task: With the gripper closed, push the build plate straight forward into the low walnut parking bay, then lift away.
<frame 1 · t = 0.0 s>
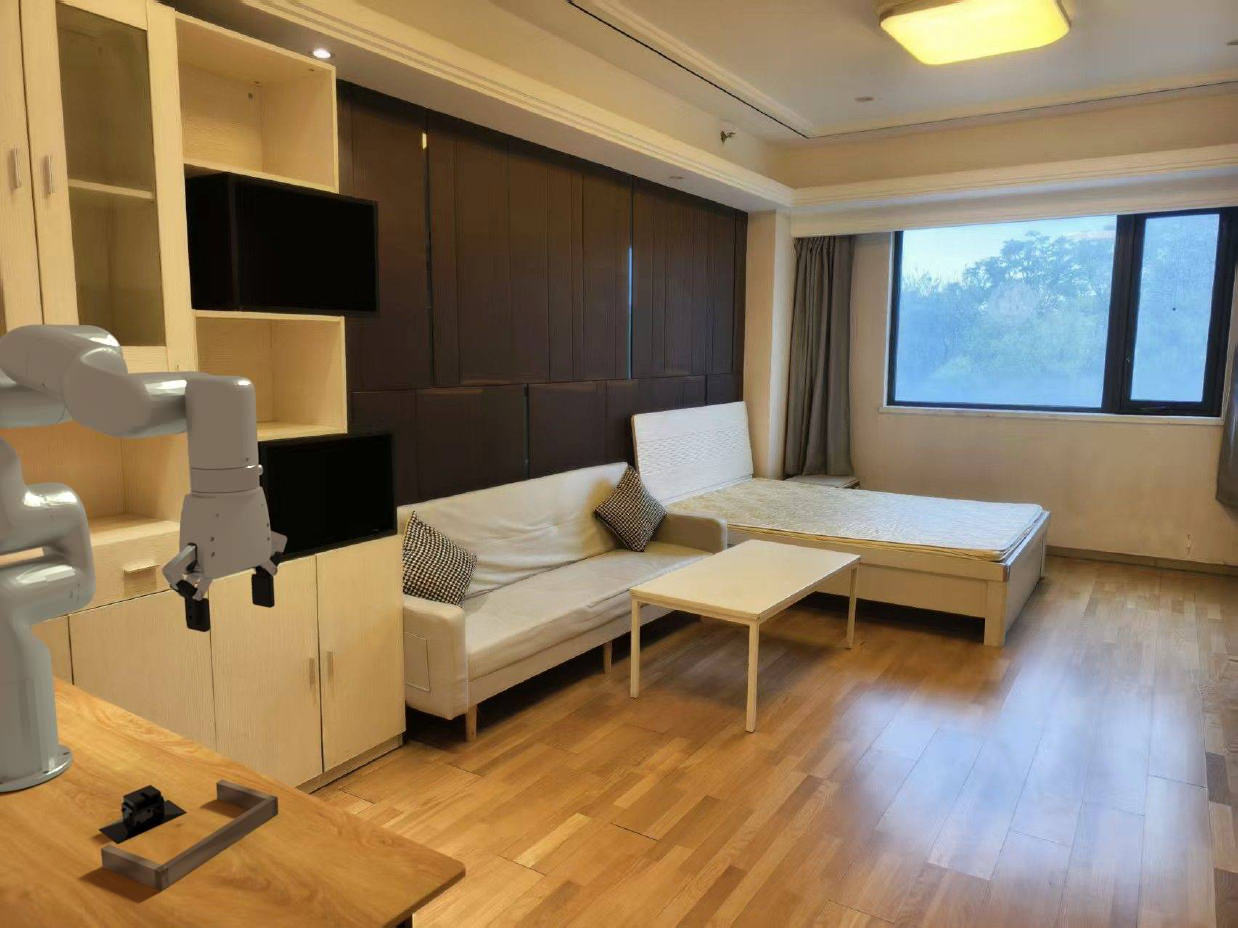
hand: (232, 617, 103), 31 cm above the table, tool pointing down, fingers open, 9 cm apart
build plate: (144, 825, 114), on the table
parking bay: (193, 838, 110), on the table
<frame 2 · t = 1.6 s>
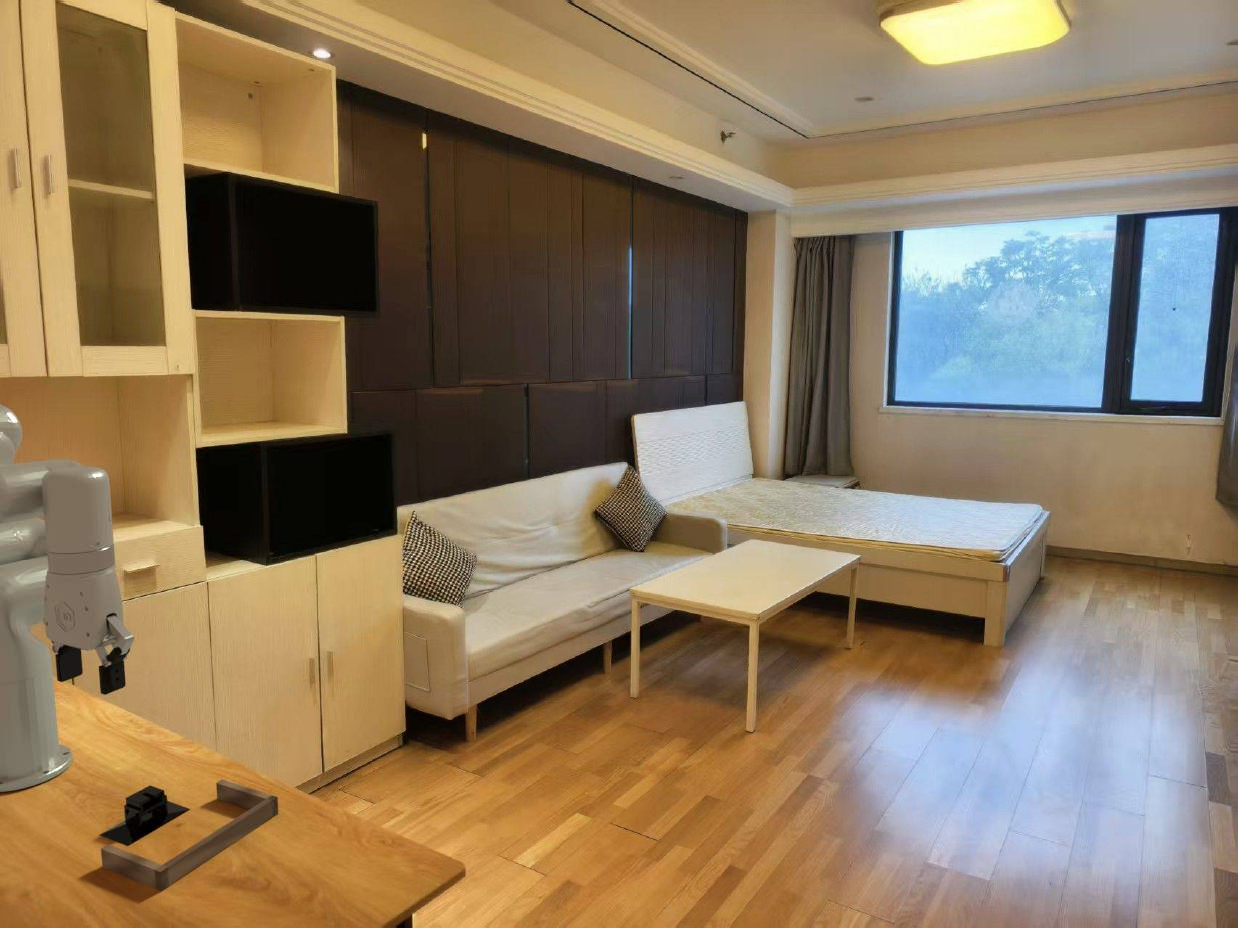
hand: (91, 683, 115), 18 cm above the table, tool pointing down, fingers open, 8 cm apart
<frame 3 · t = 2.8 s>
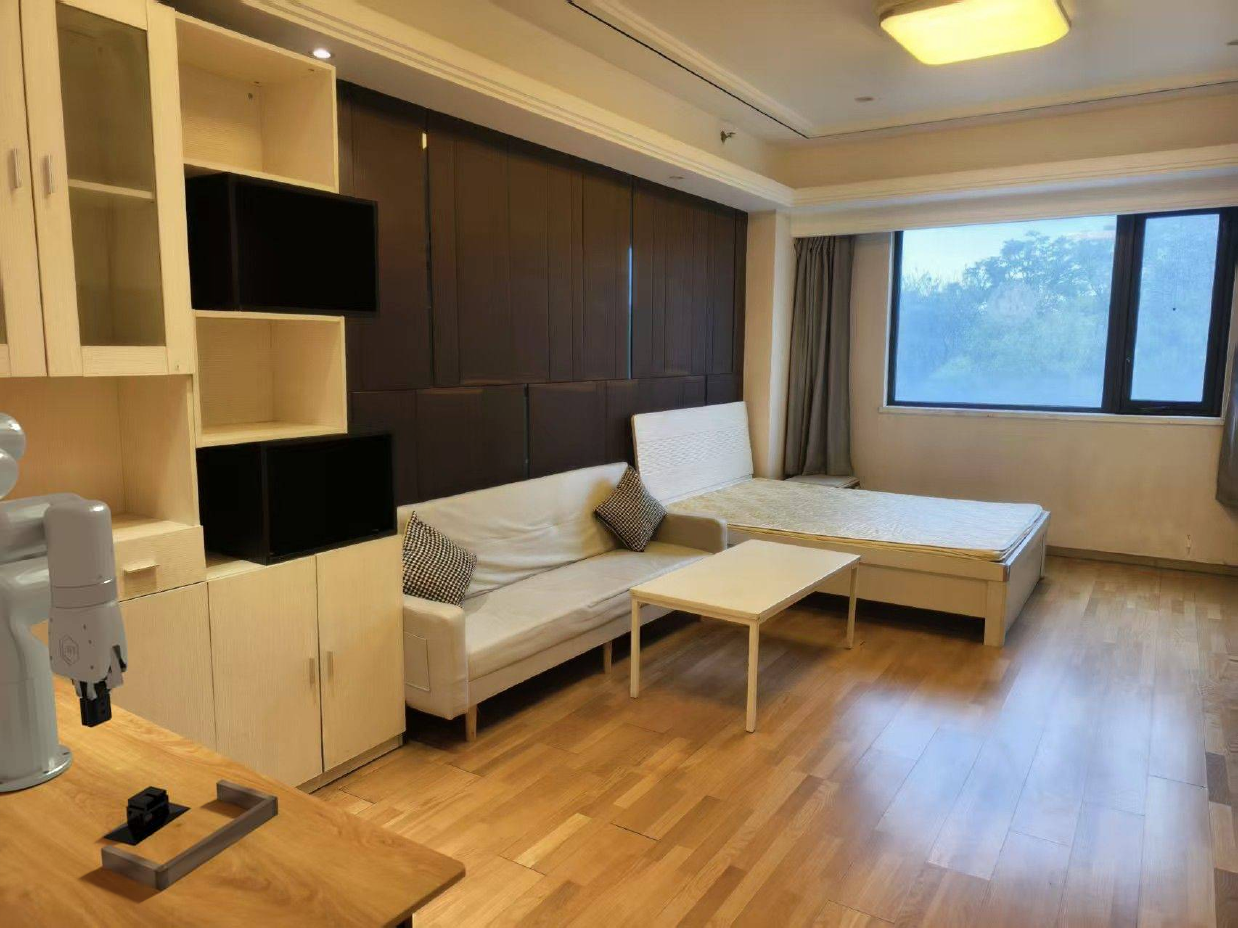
hand: (97, 722, 115), 12 cm above the table, tool pointing down, fingers closed
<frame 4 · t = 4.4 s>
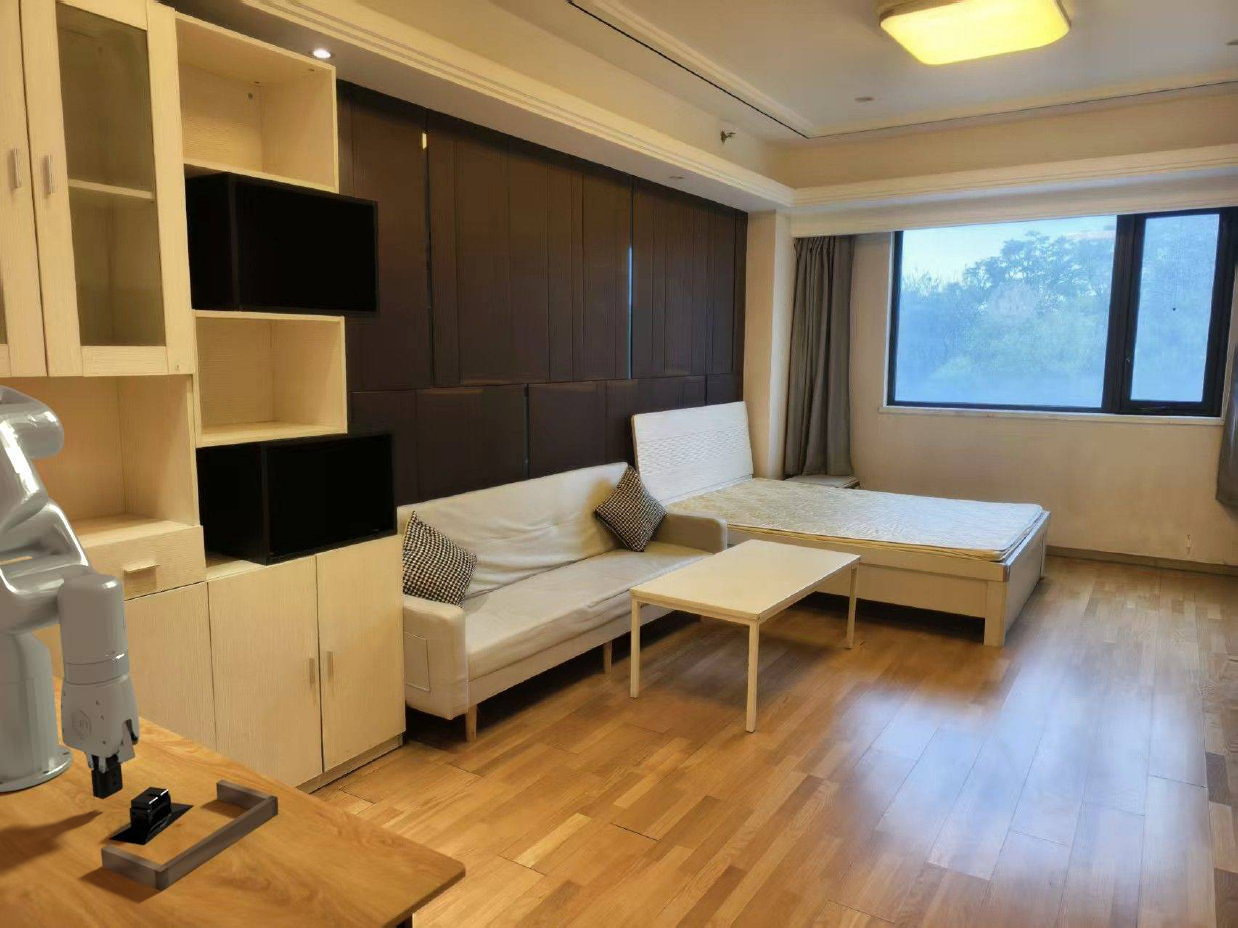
hand: (108, 792, 117), 2 cm above the table, tool pointing down, fingers closed
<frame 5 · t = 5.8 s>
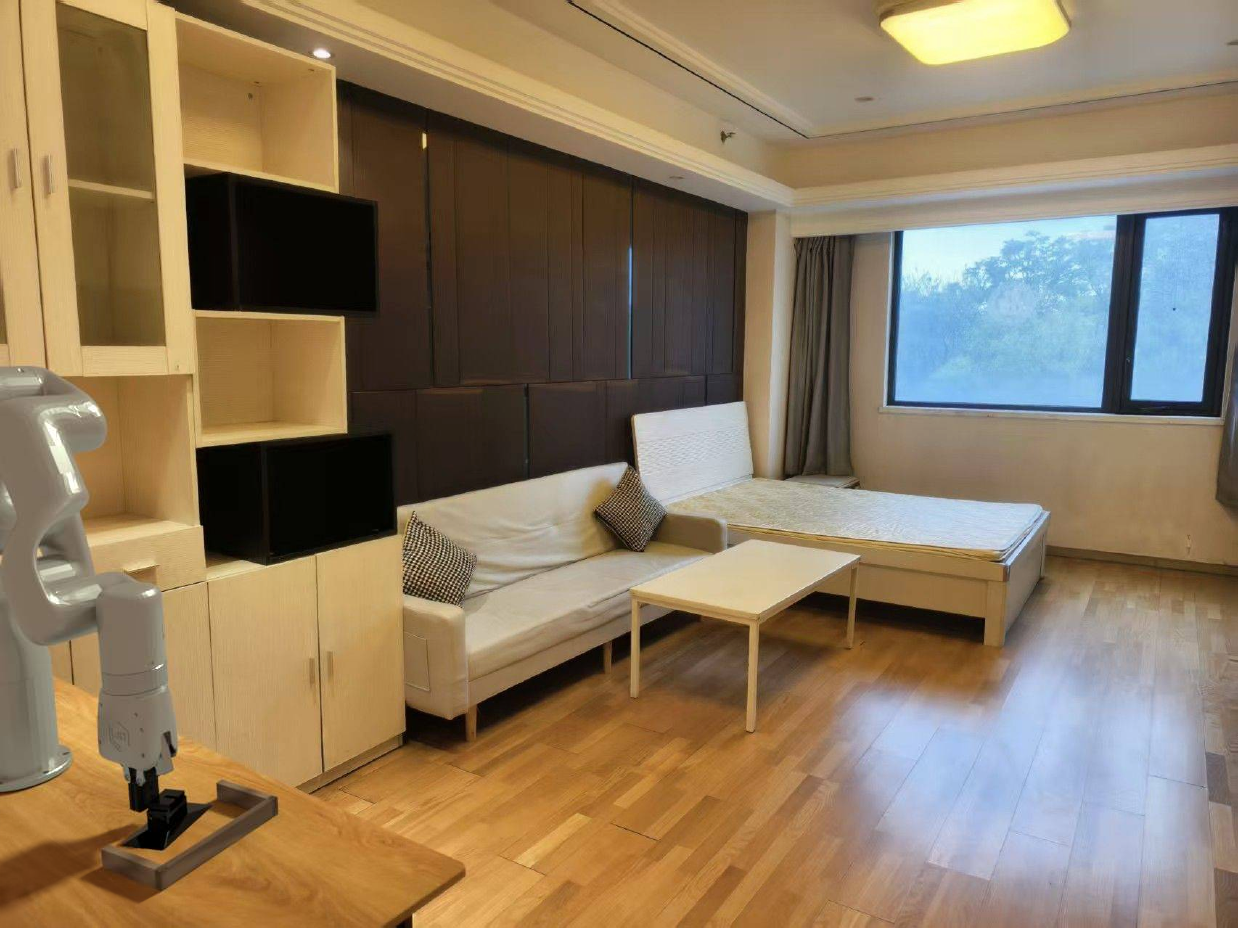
hand: (145, 806, 114), 2 cm above the table, tool pointing down, fingers closed
build plate: (168, 829, 114), on the table
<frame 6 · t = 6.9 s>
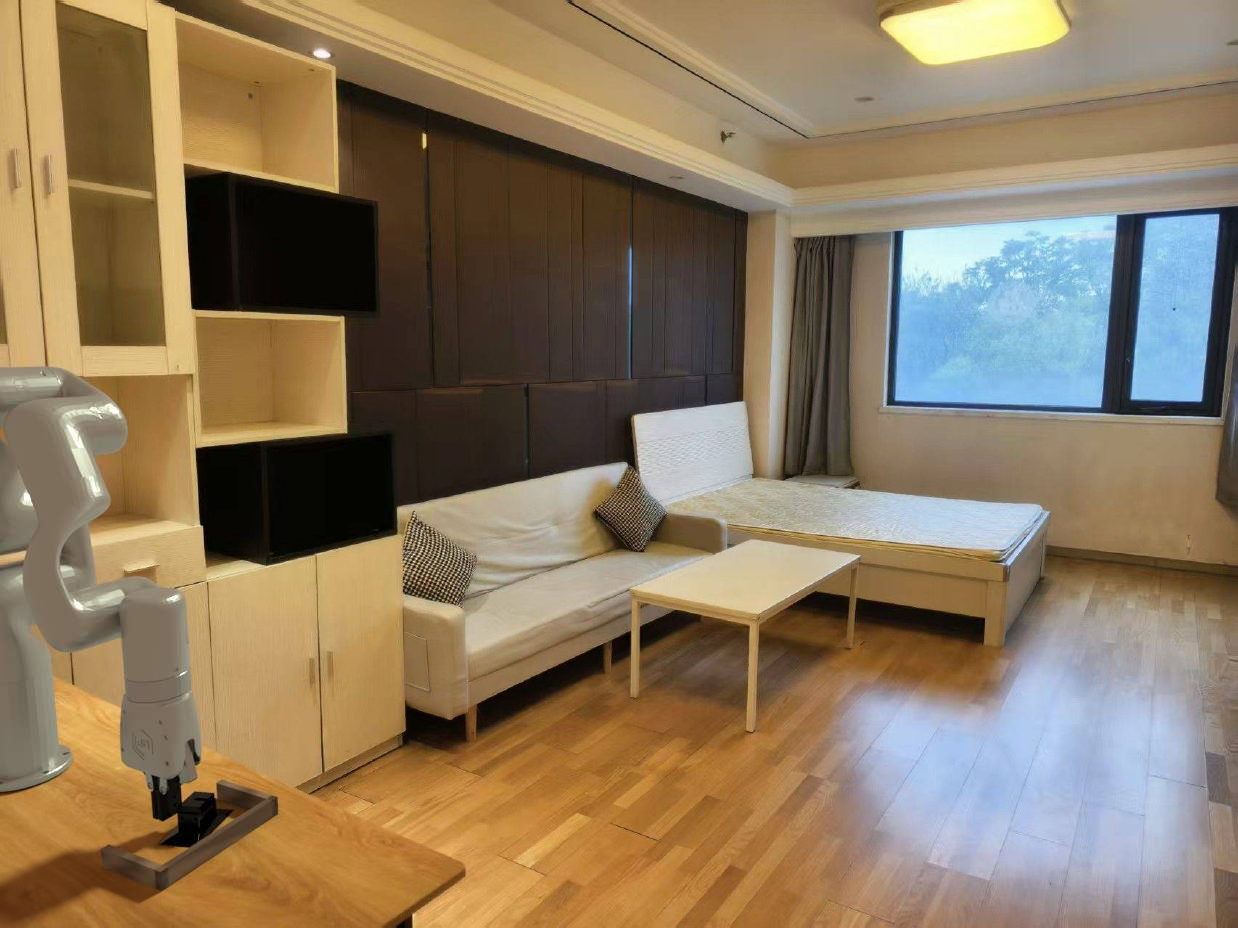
hand: (167, 814, 112), 2 cm above the table, tool pointing down, fingers closed
build plate: (198, 831, 113), on the table
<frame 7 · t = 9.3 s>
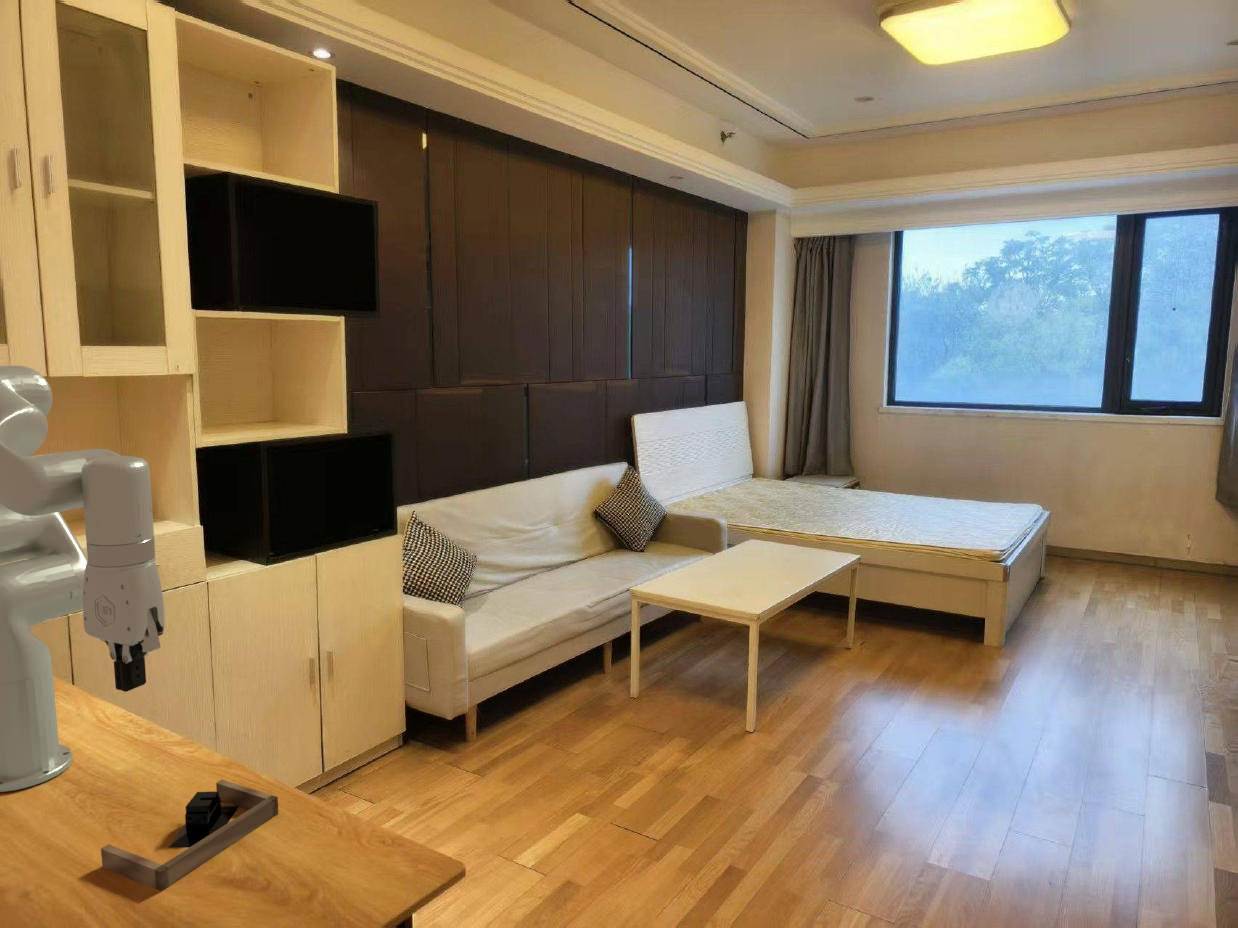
hand: (131, 686, 112), 19 cm above the table, tool pointing down, fingers closed
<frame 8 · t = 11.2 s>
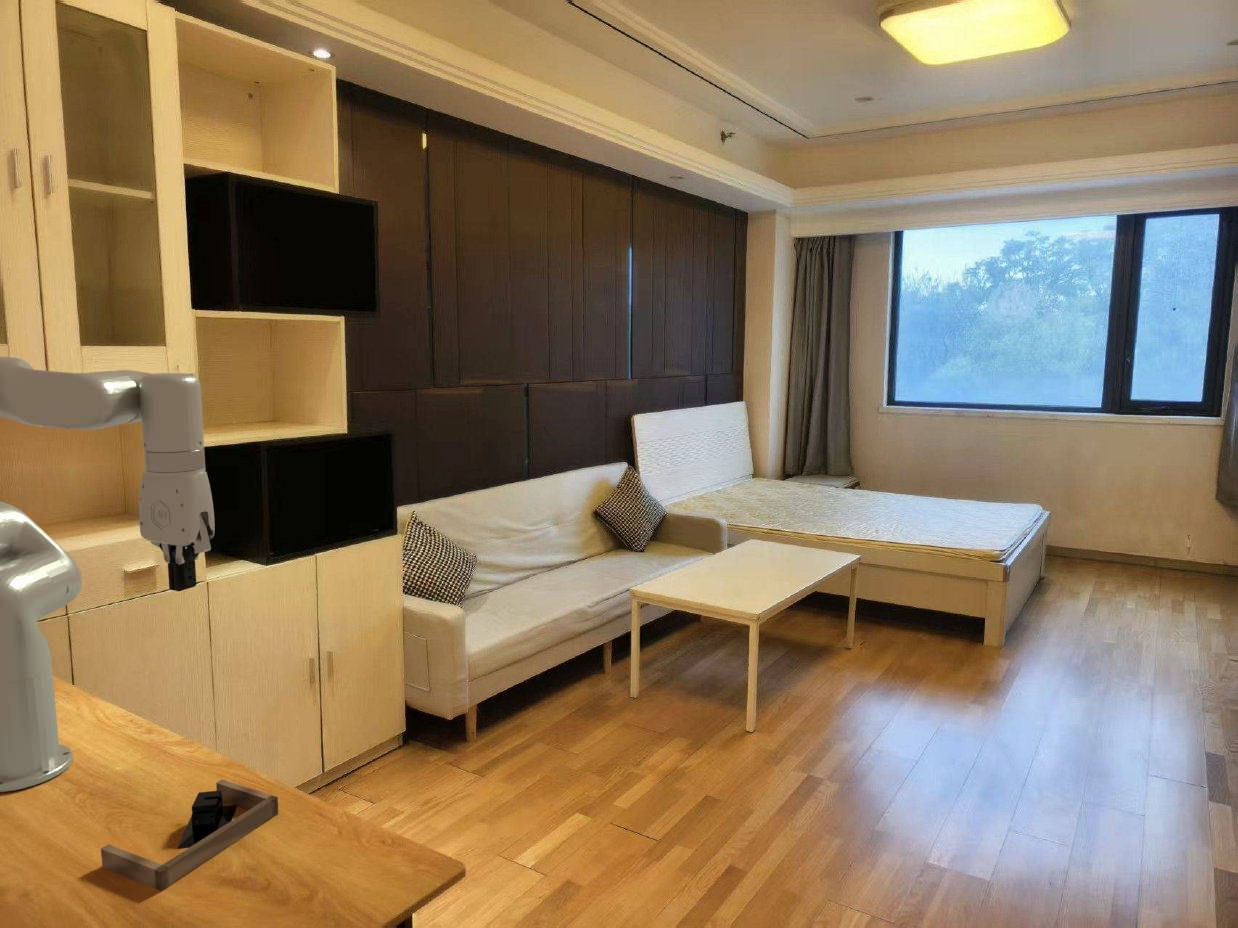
hand: (183, 587, 121), 29 cm above the table, tool pointing down, fingers closed
at the end: build plate 3.1 cm off-centre on the parking bay, point -0.8 cm above the parking bay's base; build plate tilted 0°; build plate moved 9.3 cm from its start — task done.
